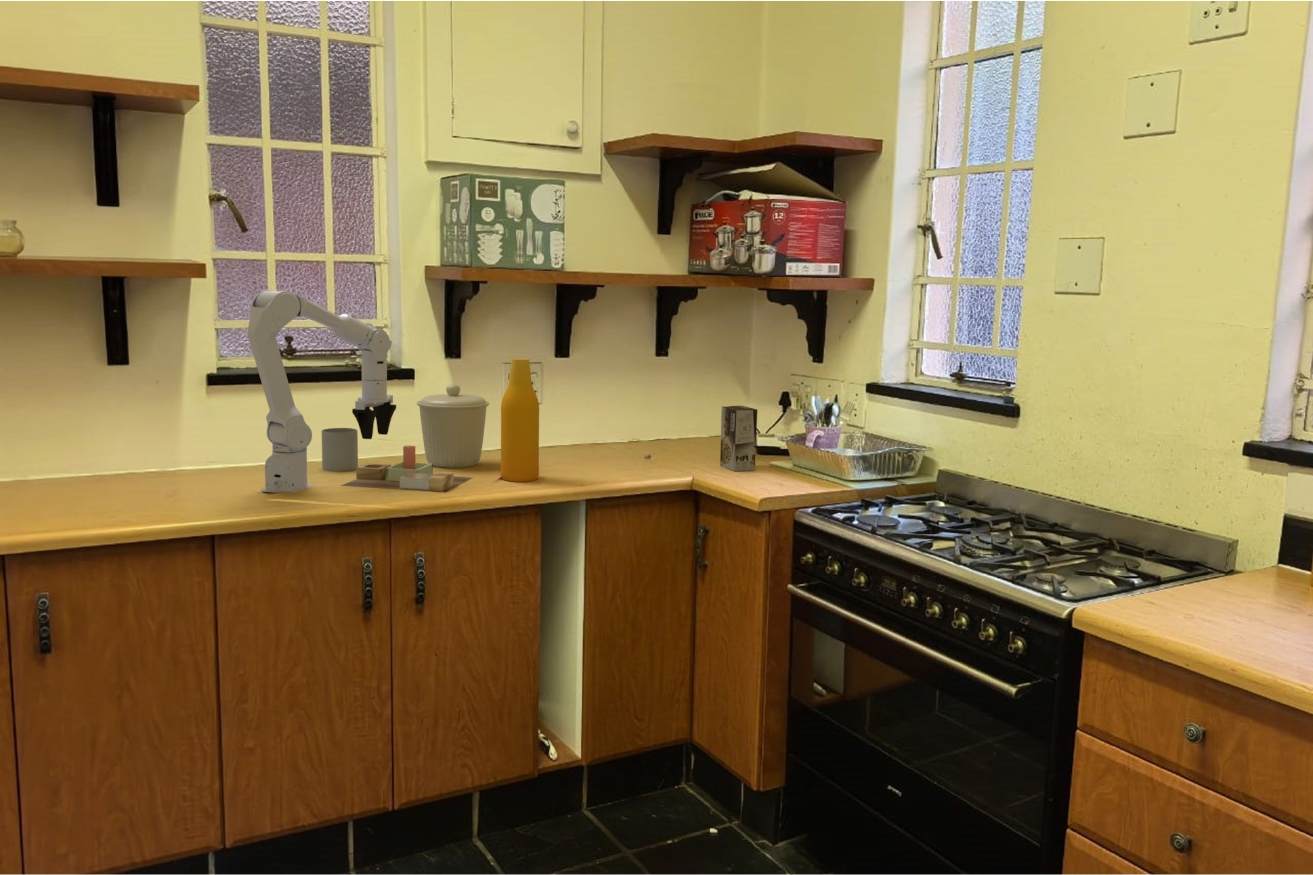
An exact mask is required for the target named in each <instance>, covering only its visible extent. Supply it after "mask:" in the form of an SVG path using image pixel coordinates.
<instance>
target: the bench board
mask: <svg viewBox="0 0 1313 875" xmlns="http://www.w3.org/2000/svg"><path fill="white" fill-rule="evenodd" d="M390 466H392V465H391V464H385V463H382V464H380V463H365V464H363V465H358V467H357V468H356V469H355V472H356V473H355V474H356V477H355V479H353V480H351V481H349V482H345V483H344V484H342V485H341V484H340V486H341V487H353V488H368V489H369V488H372V489H383V490H384V489H386V490H400V491H401V490H403V491H404V490H405V491H416V492H417V491H419V492H432V493H433V492H434V493H447V492H449V491H452V490H453V489H455V488H457V487H459V486H461V485H463V484H464V483H466V482H468V481H469V480H471V479H472V480H473V479H474V477H473V476H472V477H471V476H456V475H454V472H448V471H446V472H445V471H440V472H438V473H435V474H436V475H434V476H432V477H430V490H417V489H401V488H400V481H387V480H386V470H385V468H387V467H390Z"/></svg>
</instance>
